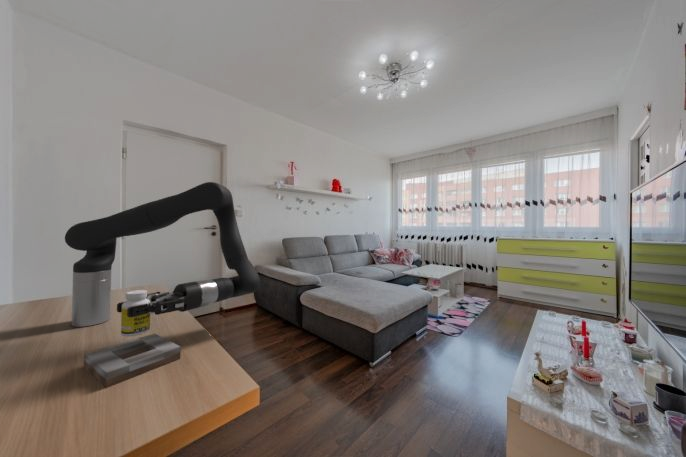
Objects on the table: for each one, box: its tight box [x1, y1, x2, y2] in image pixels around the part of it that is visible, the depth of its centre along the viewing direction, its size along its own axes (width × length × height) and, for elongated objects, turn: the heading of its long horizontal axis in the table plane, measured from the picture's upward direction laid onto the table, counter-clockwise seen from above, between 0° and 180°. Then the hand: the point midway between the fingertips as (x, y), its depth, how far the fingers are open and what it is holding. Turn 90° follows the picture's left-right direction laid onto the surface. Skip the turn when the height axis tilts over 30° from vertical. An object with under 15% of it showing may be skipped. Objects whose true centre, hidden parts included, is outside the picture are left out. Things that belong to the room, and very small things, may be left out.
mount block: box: [83, 333, 182, 388], centre depth 61 cm, size 14×14×3 cm
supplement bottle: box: [120, 289, 151, 338], centre depth 61 cm, size 5×5×10 cm
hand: (122, 310), depth 59 cm, fingers closed on supplement bottle, 5 cm apart
